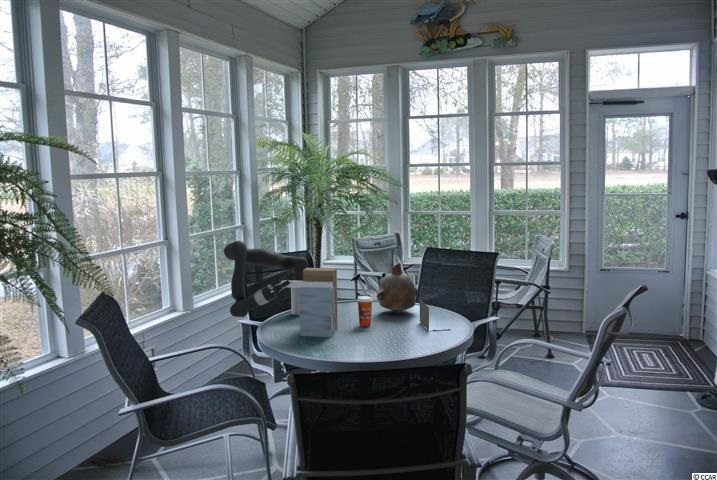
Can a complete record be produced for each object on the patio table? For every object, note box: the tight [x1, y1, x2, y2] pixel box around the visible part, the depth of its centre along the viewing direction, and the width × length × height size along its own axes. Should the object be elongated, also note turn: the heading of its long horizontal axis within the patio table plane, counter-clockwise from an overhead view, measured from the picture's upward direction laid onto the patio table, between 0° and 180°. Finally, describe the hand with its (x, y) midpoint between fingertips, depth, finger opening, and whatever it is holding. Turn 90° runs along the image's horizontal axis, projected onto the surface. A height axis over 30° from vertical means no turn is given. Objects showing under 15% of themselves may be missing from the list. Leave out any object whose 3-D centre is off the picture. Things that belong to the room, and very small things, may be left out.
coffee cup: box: [356, 295, 373, 327], centre depth 304 cm, size 8×8×15 cm
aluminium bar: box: [280, 279, 333, 289], centre depth 286 cm, size 4×26×3 cm, turn 80°
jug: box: [376, 262, 418, 314], centre depth 330 cm, size 24×21×30 cm
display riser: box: [299, 267, 339, 338], centre depth 290 cm, size 15×16×32 cm
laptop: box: [419, 299, 430, 331], centre depth 301 cm, size 18×12×13 cm
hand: (291, 280), depth 287 cm, fingers open, 8 cm apart
